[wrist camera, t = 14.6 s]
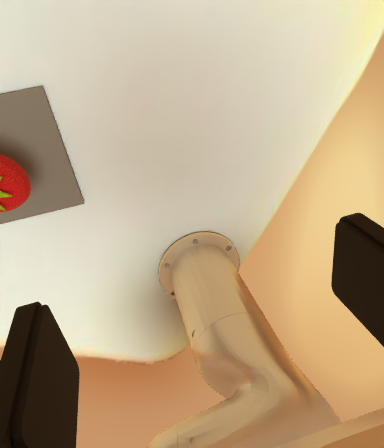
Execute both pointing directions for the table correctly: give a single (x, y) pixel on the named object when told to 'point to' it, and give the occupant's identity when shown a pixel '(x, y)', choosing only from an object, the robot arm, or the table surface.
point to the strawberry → (12, 184)
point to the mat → (36, 153)
